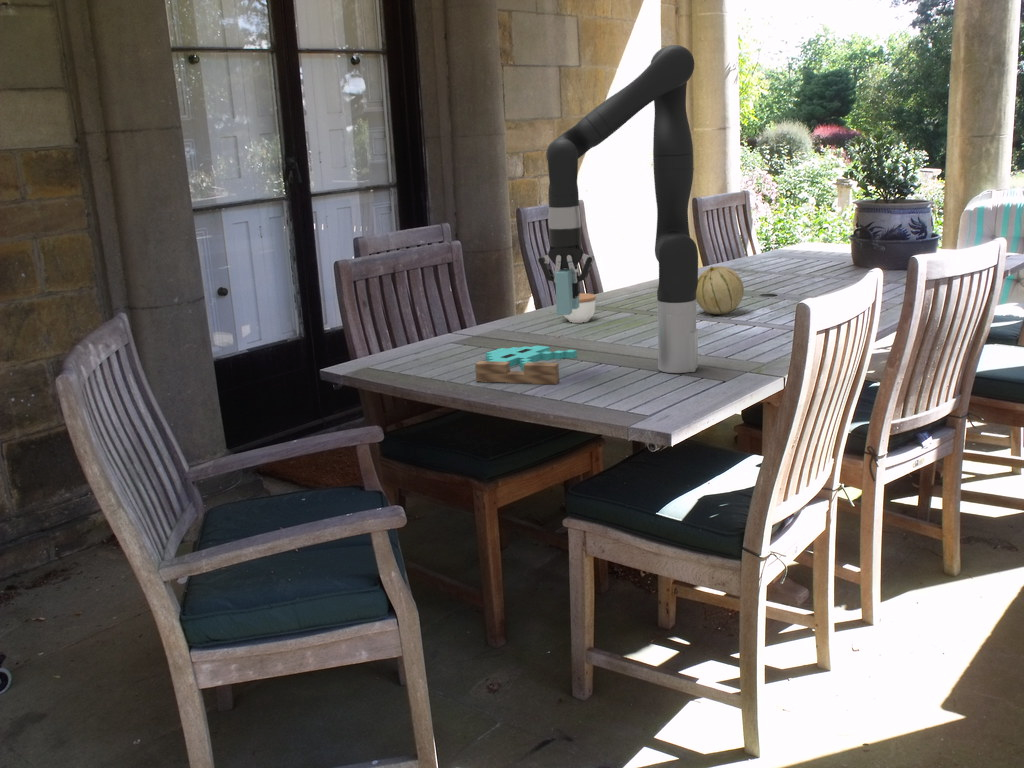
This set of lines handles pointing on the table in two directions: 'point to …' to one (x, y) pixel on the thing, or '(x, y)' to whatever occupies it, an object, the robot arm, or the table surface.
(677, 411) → the table surface
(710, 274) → the cantaloupe
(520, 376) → the slotted rail
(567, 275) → the notched plate
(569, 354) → the alien figure
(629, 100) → the robot arm
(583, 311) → the lidded jar
